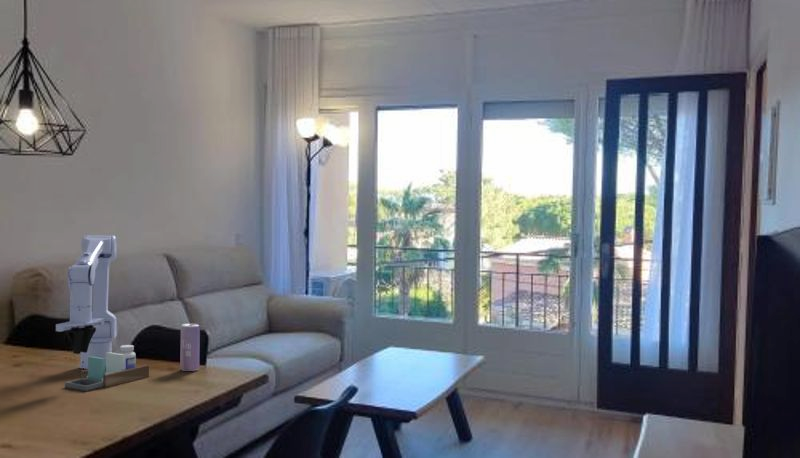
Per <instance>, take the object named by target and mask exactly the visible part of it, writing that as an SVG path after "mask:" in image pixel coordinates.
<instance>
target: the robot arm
mask: <svg viewBox="0 0 800 458" xmlns="http://www.w3.org/2000/svg"><path fill="white" fill-rule="evenodd" d="M117 250H118V240H117V236H115V235H114V234H112V235H93V234H92V235H90V234H88V235H87V234H84V235H83V236H82V240H81V252H82V253H81V254H79V256H78V258H77V260H76V262H75V264H72V265H71V266H69V267H68V269H67V282H68V291H69V292H70V293H69V294H70V295H69V301H70V302H69V321H66V322H61V323H56V324H55V332H59V333H60V332H65V333H64V334H65V335H66V336H67V337H68V340H69V342H70V344H71V347H72V352H73V354H77V355H80V365H78V366H77V368H79V369H83V368H84V370H88V357H90V356H94V357H100V358H105V366H106V353H107V352H112V351H113V350H112V349H113V348H112V347H113V346H112V343H113V340H115V339H116V338H117V335H118V321H117V316H116V315H115V314H113V313H112V312H111V311H109V288H110V287H109V285H110V284H109V283H110V267H111V262H113V261H115V260H116V259H117V255H118V253H117V252H118V251H117ZM112 353H113V352H112Z"/></svg>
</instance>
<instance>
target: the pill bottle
mask: <svg viewBox="0 0 800 458" xmlns="http://www.w3.org/2000/svg"><path fill="white" fill-rule="evenodd" d="M134 348H135V345H133V344H122V345H121V346H119V351H120V352H118V353H119V354H125V355H126V370H127V369H131V368H136V359H137V356H136V352H135V351H134V350H135V349H134Z"/></svg>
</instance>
